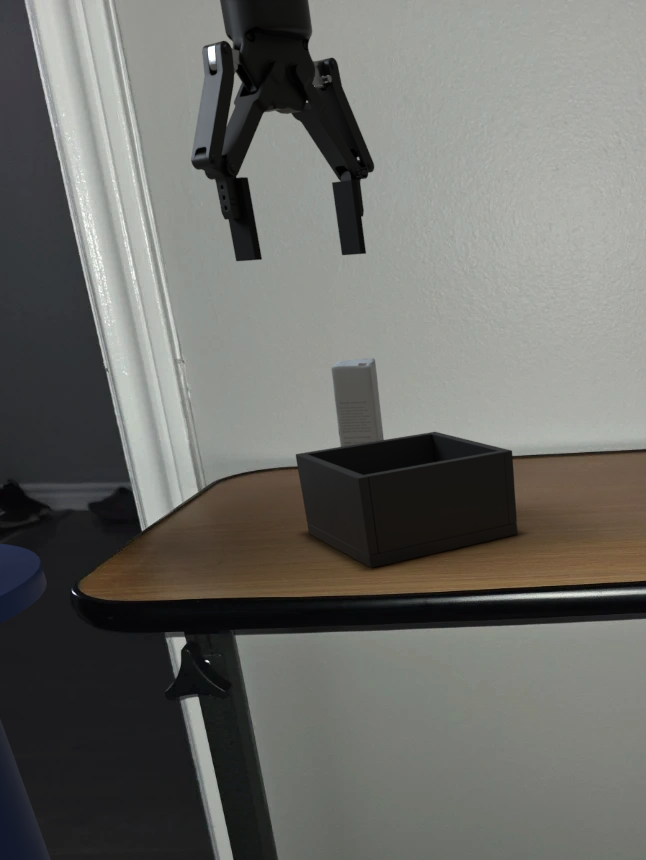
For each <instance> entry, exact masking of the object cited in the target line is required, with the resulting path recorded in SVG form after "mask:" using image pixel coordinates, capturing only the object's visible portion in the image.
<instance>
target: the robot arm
mask: <svg viewBox="0 0 646 860" xmlns="http://www.w3.org/2000/svg"><path fill="white" fill-rule="evenodd" d="M219 2H220V9H221V14H222V20H223V25H224V31H225V35H226V37H227V38H228V39H229V40H230V41H231V43H232V46H231V44H230V43H229V42H228V41H227V40H220V41H218V42H213V43H209V44H206V45H204V46H203V47H202V50H201V55H202V61H203V63H202V64H203V73H204V78H203V84H202V90H201V95H200V102H199V108H198V115H197V121H196V127H195V132H194V139H193V143H192V144H193V145H192V150H191V157H190V161H191V165H192V166H193V168H194V169H195V170H198V171H199V170H201V171H204V175H205V177H206V178H207V179H209V180H214V181H215V185H216V191H217V196H218V200H219V206H220V207H219V208H220V212H221V215H222V217H223V219H224V220H228V224H229V225H228V226H229V230H230V231H229V232H230V236H231V240H232V241H231V242H232V246H233V251H234V257H235V262H248V261H249V262H250V261H259V260H260V261H261V260H263V258H262V251H261V245H260V240H259V235H258V229H257V223H256V217H255V212H254V211H255V210H254V206H253V199H252V194H251V188H250V181H249V177H246V176H245V177H244V176H242V177H241V176H240V177H237V176H238V175H239V173H240V170H241V168H242V166H243V164H244V161H245V158H246V156H247V154H248V151H249V149H250V146H251V144H252V141H253V139H254V137H255V134H256V132H257V129H258V127H259V125H260V123H261V120H262V118H263V115H264V114H265V113H271V112H277V113H279V114H284V115H289V114H291V115H292V117H293V118H294V119H295V120H296V121H299V122H300V123H301V124H302V126H303V127H304V129H305V131H306V132H307V134H308V135H309V136H310V138H311V139H312V140H313V142H314V145H316V147H317V149H318V150H319V152H320V153H321V155H322V157H323V158H324V159H325V161H326V162H327V164H328V165H329V167H330V169H331V170H332V171H333V173H334V174H335V176H336V178H337V179H338V180H339V181H334V182H331V185H332V187H331V188H332V191H333V193H332V194H333V199H334V207H335V215H336V222H337V229H338V237H339V244H340V251H341V256H352V255H354V256H355V255H366V254H367V249H366V242H365V235H364V233H365V232H364V227H363V217H364V213H365V209H364V201H363V192H362V186H361V181H362V180H366V179H367V178H368V177H369V173H370V174H371V173H373V172H374V171H375V163H374V161H373V158H372V155H371V153H370V151H369V149H368V145H367V143H366V141H365V138H364V136H363V134H362V130H361V129H360V127H359V124H358V122H357V119H356V117H355V114H354V112H353V110H352V107H351V105H350V102H349V100H348V98H347V95H346V93H345V90H344V87H343V84H342V79H341V74H340V68H339V64H338V61H337V60H336V58H334V57H328V58H324V59H319V60H313V58H312V55H311V54H310V50H309V49H310V48H309V43H310V40H311V37H312V35H313V25H312V18H311V10H310V2H309V0H219ZM235 74H236V75H237V77H238V79H239V80H240V82H241V83H240V86H239V88H238V91H237V93H236V95H235V98H234V100H233V105H234V108H233V110H232V113H231V115H230V109H231V104H232V103H231V102H232V97H233V90H234V84H235ZM229 115H230V118H229Z"/></svg>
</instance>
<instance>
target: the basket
mask: <svg viewBox="0 0 646 860" xmlns="http://www.w3.org/2000/svg"><path fill="white" fill-rule="evenodd" d="M295 460H296V466H297V471H298V472H297V473H298V478H299V483H300V490H301V495H302V500H303V501H302V502H303V506H304V507H303V508H304V512H305V519H306V523H307V531H308V534H309V535H310V536H312V537H314V538H316V539H318V540H320V541H321V542H323V543H325V544H327V545H328V546H331V547H332V548H334V549H336V550H338V551H340V552H342V553H344V554H345V555H347V556H349V557H351V558H352V559H354V560H356V561H358V562H360V563H361V564H363V565H365V566H367V567H369V568H371V569H373V568H377V567H381V566H387V565H390V564H395V563H398V562H403V561H408V560H412V559H416V558H421V557H425V556H429V555H434V554H438V553H442V552H446V551H451V550H456V549H460V548H464V547H468V546H472V545H477V544H481V543H486V542H489V541H494V540H499V539H502V538H503V539H504V538H507V537H511V536H516V535H518V518H517V507H516V506H517V505H516V503H517V502H516V490H515V489H516V488H515V475H514V474H515V473H514V457H513V450H511V449H507V448H503V447H499V446H494V445H491V444H487V443H483V442H479V441H474V440H470V439H467V438H463V437H460V436H454V435H450V434H446V433H442V432H439V431H430V432H425V433H418V434H412V435H411V434H410V435H404V436H400V437H394V438H386V439H384V440H380V441H374V442H368V443H362V444H355V445H349V446H343V447H341V446H338V447H332V448H331V447H329V448H325V449H319V450H313V451H305V452H301V453H295Z"/></svg>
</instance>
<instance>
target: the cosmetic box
mask: <svg viewBox="0 0 646 860" xmlns="http://www.w3.org/2000/svg"><path fill="white" fill-rule="evenodd" d="M330 370H331V377H332V385H333V386H332V387H333V394H334V405H335V412H336V421H337V429H338V436H339V445H340V446H339V447H343V446H349V445H355V444H362V443H368V442H374V441H380V440H385V439H384V438H385V437H384V429H383V421H382V419H383V418H382V413H381V403H380V393H379V383H378V373H377V365H376V359H375V358H373V357H371V358H370V357H369V358H354V359H345V360H337V362H336V363H335V364H333V365H332V366H331V369H330Z"/></svg>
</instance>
